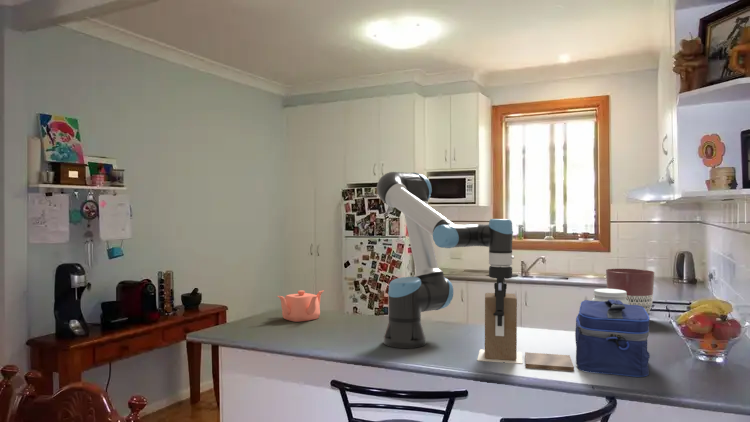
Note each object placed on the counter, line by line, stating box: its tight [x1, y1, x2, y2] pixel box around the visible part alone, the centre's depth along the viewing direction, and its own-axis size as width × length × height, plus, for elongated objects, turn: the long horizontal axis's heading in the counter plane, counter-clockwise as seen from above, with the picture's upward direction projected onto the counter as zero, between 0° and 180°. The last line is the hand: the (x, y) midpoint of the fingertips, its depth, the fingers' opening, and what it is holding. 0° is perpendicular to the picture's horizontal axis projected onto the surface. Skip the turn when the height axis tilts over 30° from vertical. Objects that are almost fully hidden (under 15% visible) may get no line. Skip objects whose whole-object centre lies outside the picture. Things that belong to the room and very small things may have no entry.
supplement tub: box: [591, 288, 629, 305], centre depth 206 cm, size 13×13×18 cm
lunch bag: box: [574, 299, 651, 378], centre depth 173 cm, size 31×21×20 cm
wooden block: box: [484, 292, 518, 360], centre depth 182 cm, size 10×10×20 cm
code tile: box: [477, 348, 523, 365], centre depth 182 cm, size 14×14×1 cm
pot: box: [277, 289, 325, 323], centre depth 242 cm, size 18×17×12 cm
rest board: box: [524, 351, 575, 372], centre depth 174 cm, size 14×14×1 cm
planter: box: [605, 268, 655, 315], centre depth 244 cm, size 20×20×21 cm
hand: (500, 331), depth 182 cm, fingers open, 11 cm apart
